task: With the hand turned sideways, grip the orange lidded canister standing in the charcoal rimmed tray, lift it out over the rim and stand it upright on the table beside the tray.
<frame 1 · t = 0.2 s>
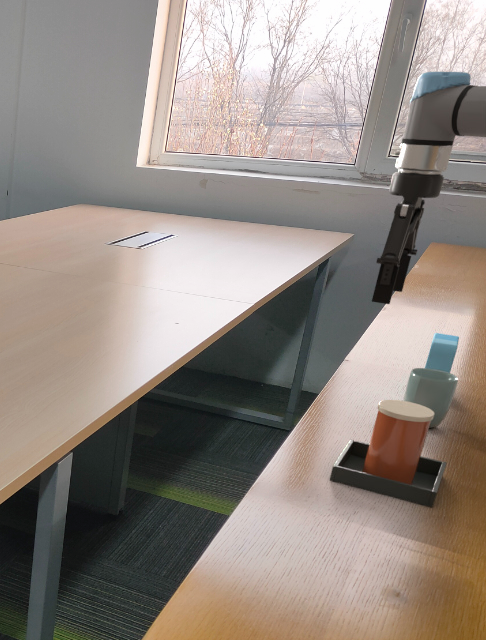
hand: (387, 296, 143), 25 cm above the table, tool pointing down, fingers open, 13 cm apart
orange lidded canister: (386, 478, 128), point 1 cm above the table, touching tray
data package: (430, 394, 171), on the table
tray: (385, 481, 128), on the table
cup: (419, 424, 154), on the table
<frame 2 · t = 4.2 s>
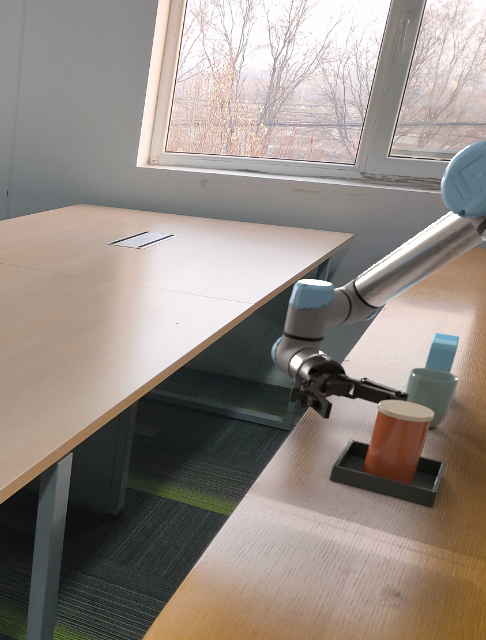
hand: (369, 413, 134), 8 cm above the table, tool horizontal, fingers open, 13 cm apart
nothing on the table moved.
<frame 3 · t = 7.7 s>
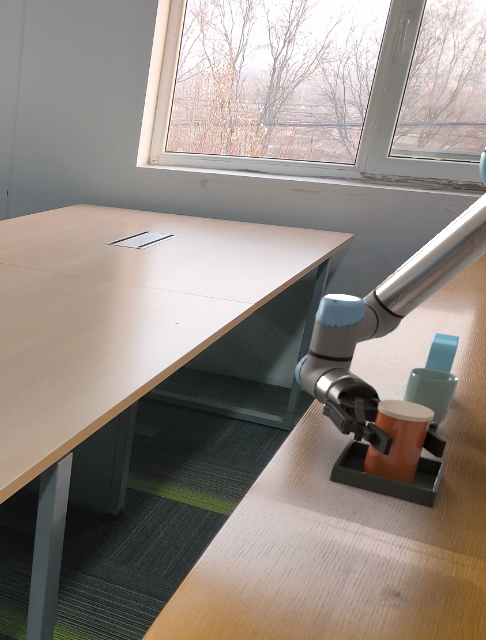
hand: (414, 448, 121), 8 cm above the table, tool horizontal, fingers closed on orange lidded canister, 7 cm apart
orange lidded canister: (386, 478, 128), point 1 cm above the table, touching gripper, tray
everything else where it was.
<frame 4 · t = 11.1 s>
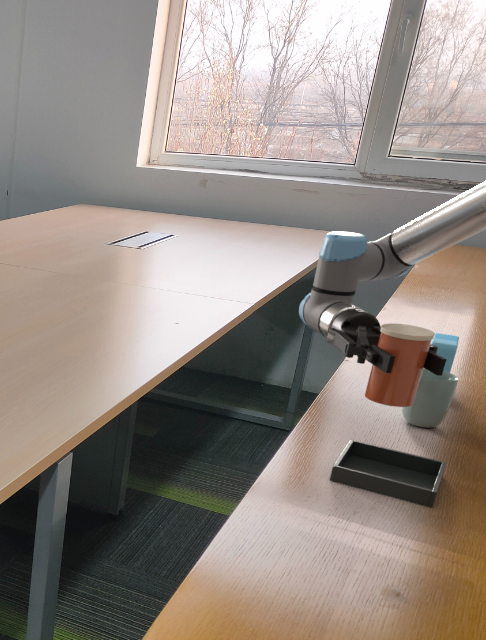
hand: (416, 366, 126), 18 cm above the table, tool horizontal, fingers closed on orange lidded canister, 7 cm apart
orange lidded canister: (388, 399, 133), point 11 cm above the table, touching gripper
everything else where it was.
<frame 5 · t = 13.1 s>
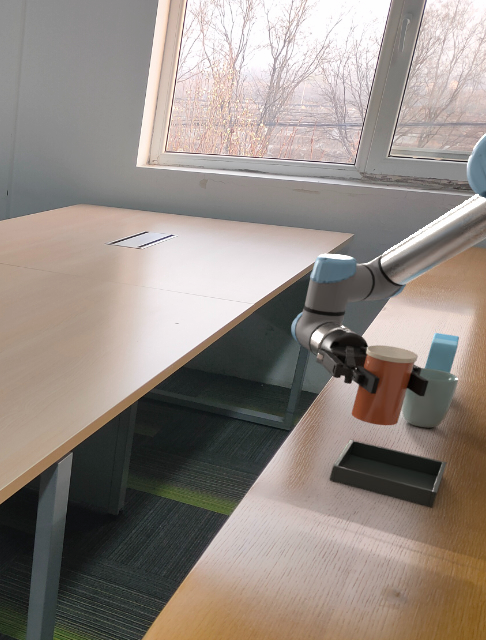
hand: (399, 387, 132), 13 cm above the table, tool horizontal, fingers closed on orange lidded canister, 7 cm apart
orange lidded canister: (374, 417, 140), point 6 cm above the table, touching gripper
everything else where it was.
when the fingers open (7 cm above the table, at t = 15.0 s): orange lidded canister stays where it is, on the table.
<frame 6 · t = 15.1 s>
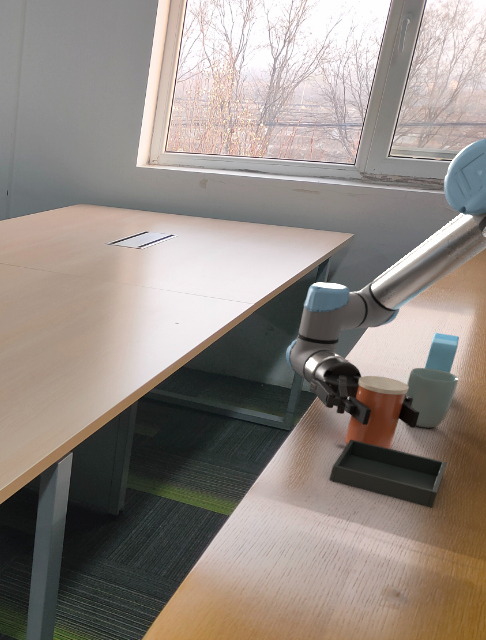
hand: (391, 418, 134), 7 cm above the table, tool horizontal, fingers open, 7 cm apart
orange lidded canister: (366, 446, 142), on the table
everything else where it was.
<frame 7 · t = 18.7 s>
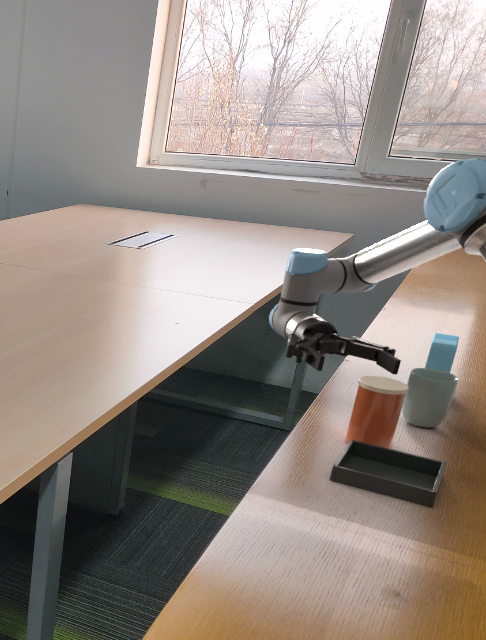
hand: (359, 365, 146), 12 cm above the table, tool horizontal, fingers open, 13 cm apart
nothing on the table moved.
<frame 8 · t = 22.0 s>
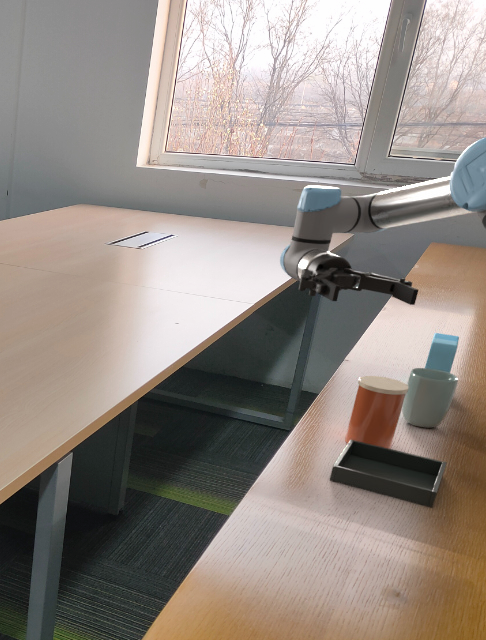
hand: (375, 295, 141), 25 cm above the table, tool horizontal, fingers open, 13 cm apart
nothing on the table moved.
at the end: orange lidded canister inside the target area (0.0 cm from its centre), on the table; orange lidded canister tilted 0°; the gripper is holding nothing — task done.
